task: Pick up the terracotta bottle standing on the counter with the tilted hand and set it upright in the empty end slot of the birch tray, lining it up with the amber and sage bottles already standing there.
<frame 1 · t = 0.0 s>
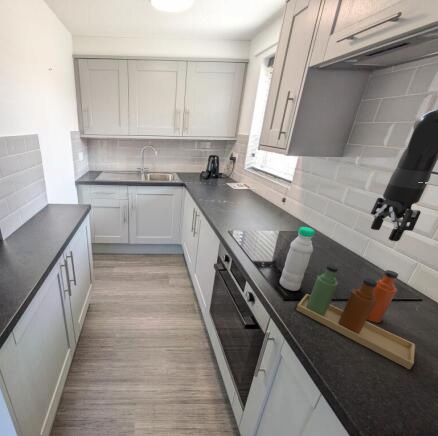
hand: (383, 234, 73), 28 cm above the worktop, tool pointing down, fingers open, 8 cm apart
terracotta bottle: (369, 316, 78), on the worktop
amber bottle: (348, 326, 72), resting on tray
tray: (348, 328, 73), on the worktop
sage bottle: (315, 310, 79), resting on tray
water bottle: (288, 286, 92), on the worktop
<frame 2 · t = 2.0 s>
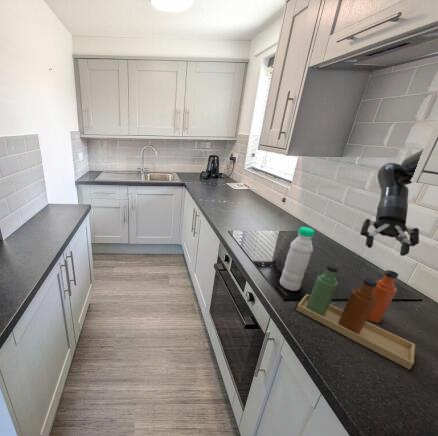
hand: (386, 250, 79), 20 cm above the worktop, tool tilted 45°, fingers open, 8 cm apart
nothing on the worktop moved.
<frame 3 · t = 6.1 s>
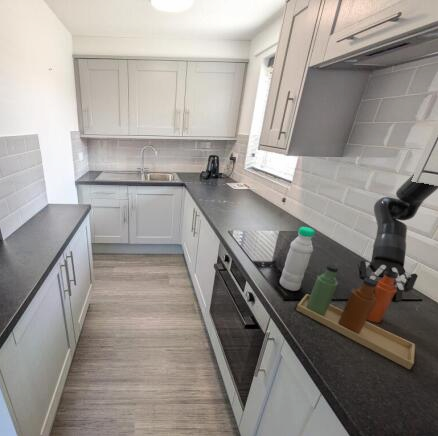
hand: (382, 297, 73), 9 cm above the worktop, tool tilted 45°, fingers closed on terracotta bottle, 5 cm apart
terracotta bottle: (369, 316, 78), on the worktop, touching gripper
everything else where it was.
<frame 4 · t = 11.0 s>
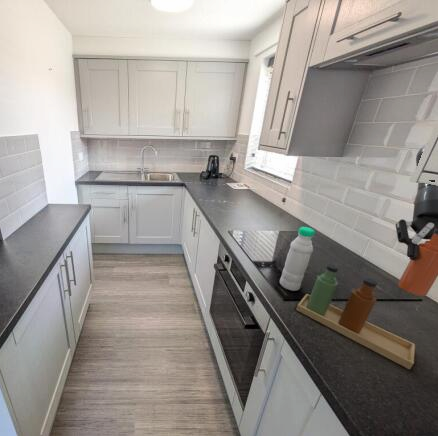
hand: (430, 262, 57), 28 cm above the worktop, tool tilted 45°, fingers closed on terracotta bottle, 5 cm apart
terracotta bottle: (411, 289, 62), point 19 cm above the worktop, touching gripper
everything else where it was.
when the fingers open (10 cm above the worktop, at t = 16.0 s): terracotta bottle stays where it is, resting on tray.
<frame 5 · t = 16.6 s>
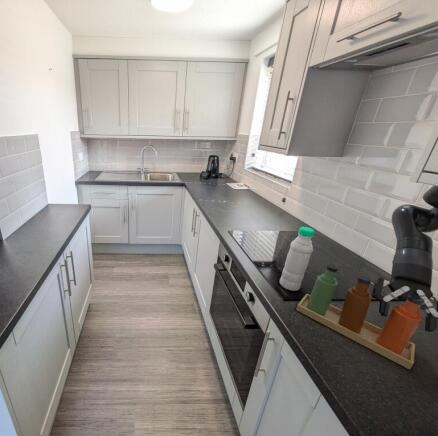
hand: (406, 323, 61), 11 cm above the worktop, tool tilted 45°, fingers open, 8 cm apart
terracotta bottle: (387, 346, 66), resting on tray
amber bottle: (349, 326, 72), point 1 cm above the worktop, touching hand, tray
everything else where it was.
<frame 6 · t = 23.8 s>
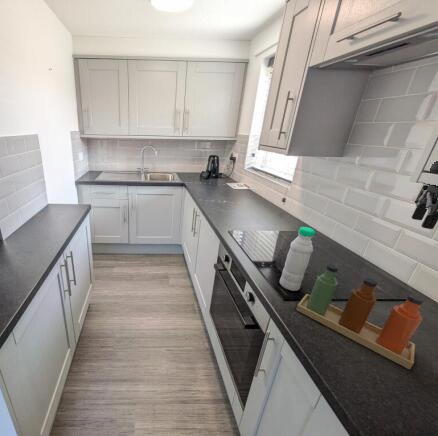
hand: (421, 223, 68), 33 cm above the worktop, tool pointing down, fingers open, 8 cm apart
amber bottle: (348, 326, 72), resting on tray
everything else where it was.
at the end: terracotta bottle 0.1 cm from the target spot in the tray, point 0.5 cm above the tray's base; terracotta bottle tilted 0°; amber bottle moved 0.0 cm from its start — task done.
